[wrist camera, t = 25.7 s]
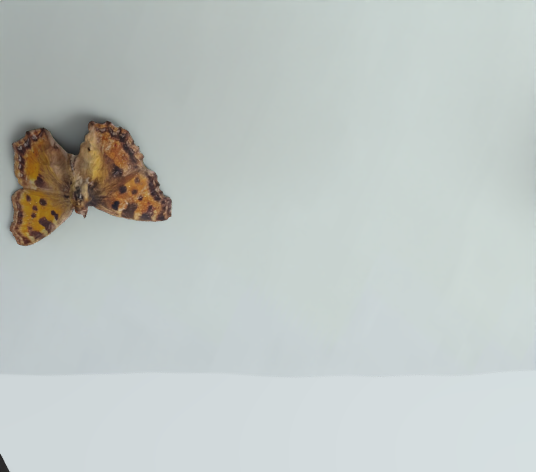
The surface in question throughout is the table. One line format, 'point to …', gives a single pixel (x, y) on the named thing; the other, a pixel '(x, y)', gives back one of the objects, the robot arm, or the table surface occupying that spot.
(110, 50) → the table surface
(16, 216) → the butterfly model
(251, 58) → the table surface
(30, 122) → the table surface
